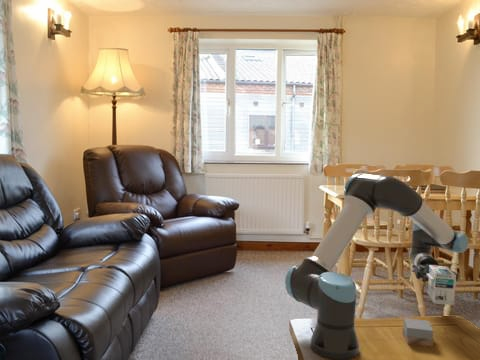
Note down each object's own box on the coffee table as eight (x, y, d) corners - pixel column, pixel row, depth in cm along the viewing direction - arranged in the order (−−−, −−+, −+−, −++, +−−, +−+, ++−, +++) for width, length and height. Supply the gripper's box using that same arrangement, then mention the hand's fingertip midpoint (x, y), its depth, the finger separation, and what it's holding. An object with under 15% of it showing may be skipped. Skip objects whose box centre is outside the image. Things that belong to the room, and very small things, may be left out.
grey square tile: (406, 336, 149) (407, 327, 148) (403, 326, 156) (404, 318, 156) (432, 339, 147) (433, 330, 146) (428, 329, 154) (429, 320, 154)
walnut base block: (407, 345, 148) (408, 337, 148) (402, 335, 156) (402, 326, 156) (433, 347, 147) (433, 339, 147) (426, 337, 155) (426, 328, 155)
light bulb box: (454, 305, 153) (457, 274, 151) (433, 303, 154) (435, 273, 153) (446, 295, 163) (448, 265, 162) (426, 293, 164) (428, 264, 163)
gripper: (452, 275, 177) (473, 296, 154) (399, 272, 180) (412, 291, 157) (453, 257, 176) (474, 274, 153) (401, 253, 179) (414, 270, 156)
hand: (443, 283), depth 155 cm, fingers closed on light bulb box, 7 cm apart
